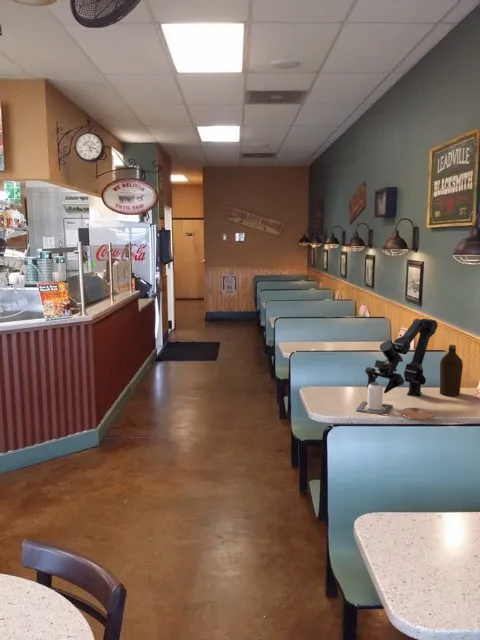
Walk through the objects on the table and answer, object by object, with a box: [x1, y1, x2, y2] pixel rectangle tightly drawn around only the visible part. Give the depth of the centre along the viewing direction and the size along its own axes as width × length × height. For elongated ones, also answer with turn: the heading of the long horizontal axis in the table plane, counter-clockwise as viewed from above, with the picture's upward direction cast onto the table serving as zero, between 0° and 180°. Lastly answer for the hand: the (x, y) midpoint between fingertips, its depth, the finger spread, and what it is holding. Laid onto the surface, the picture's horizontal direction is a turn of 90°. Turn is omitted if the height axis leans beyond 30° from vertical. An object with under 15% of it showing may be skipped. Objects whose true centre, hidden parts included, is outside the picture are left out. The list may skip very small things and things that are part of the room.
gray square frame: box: [355, 400, 393, 415], centre depth 250 cm, size 14×14×1 cm
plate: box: [401, 407, 434, 421], centre depth 242 cm, size 13×13×1 cm
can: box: [366, 381, 383, 411], centre depth 249 cm, size 6×6×12 cm
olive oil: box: [439, 344, 464, 397], centre depth 270 cm, size 11×11×25 cm
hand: (376, 390), depth 250 cm, fingers open, 9 cm apart
